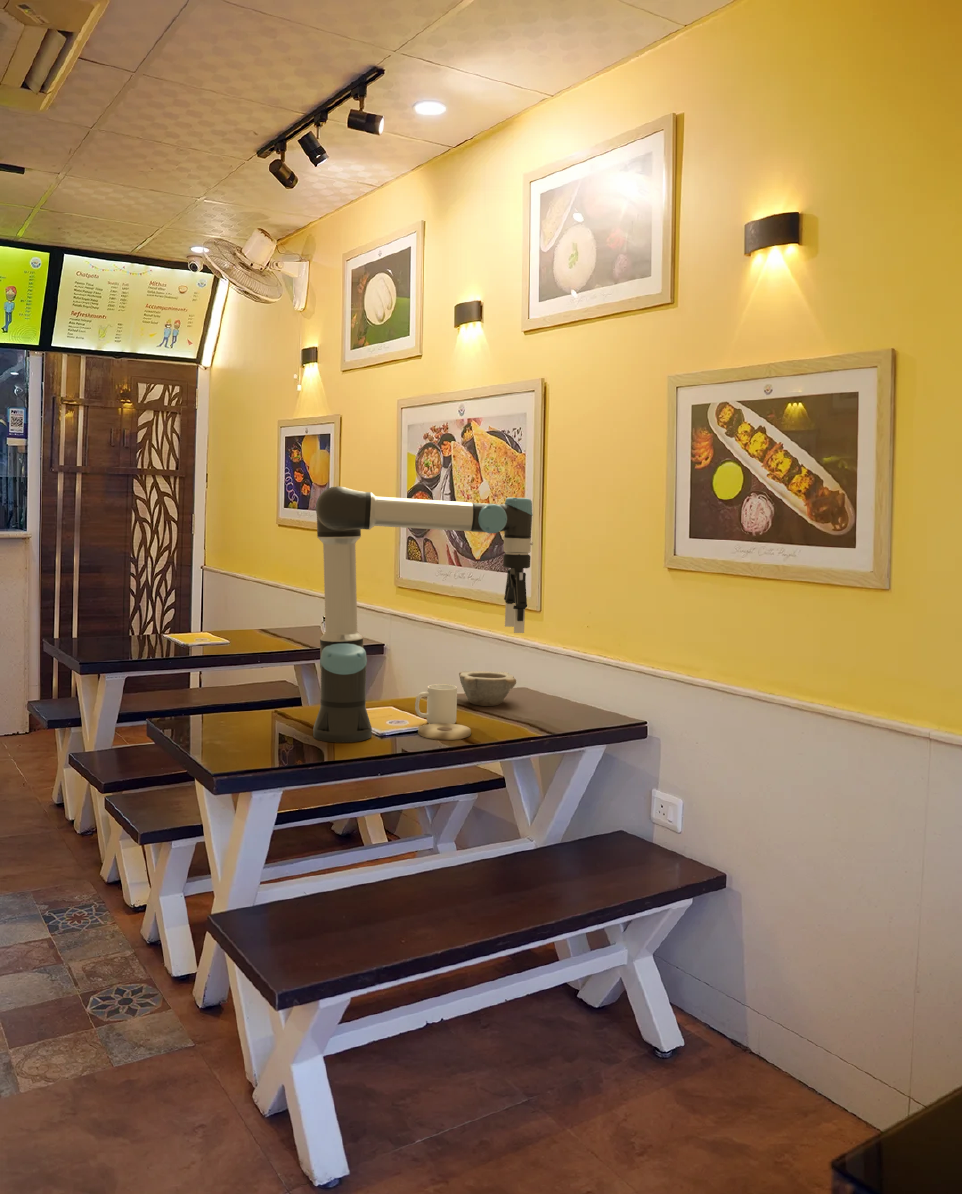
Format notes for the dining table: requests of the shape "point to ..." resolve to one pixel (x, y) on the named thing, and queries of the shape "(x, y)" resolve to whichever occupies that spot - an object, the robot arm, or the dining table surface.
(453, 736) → the disc
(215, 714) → the dining table surface
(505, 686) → the mortar
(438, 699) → the cup
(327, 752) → the dining table surface
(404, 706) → the dining table surface
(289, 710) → the dining table surface
